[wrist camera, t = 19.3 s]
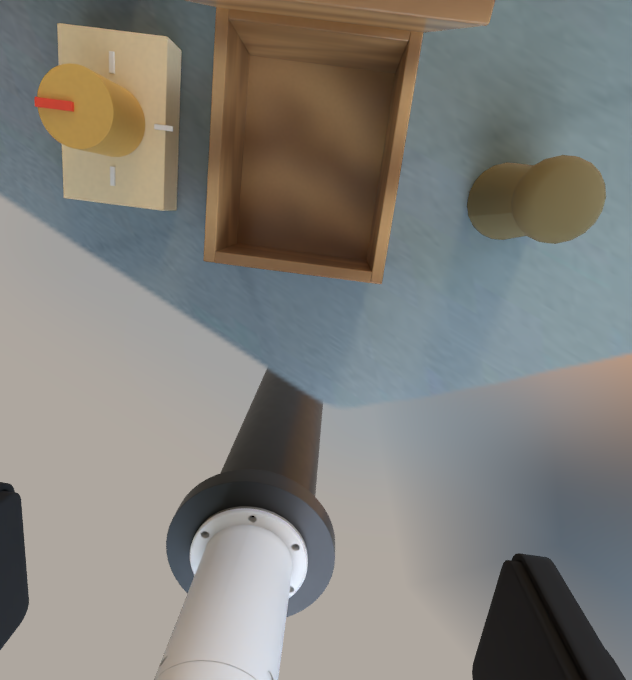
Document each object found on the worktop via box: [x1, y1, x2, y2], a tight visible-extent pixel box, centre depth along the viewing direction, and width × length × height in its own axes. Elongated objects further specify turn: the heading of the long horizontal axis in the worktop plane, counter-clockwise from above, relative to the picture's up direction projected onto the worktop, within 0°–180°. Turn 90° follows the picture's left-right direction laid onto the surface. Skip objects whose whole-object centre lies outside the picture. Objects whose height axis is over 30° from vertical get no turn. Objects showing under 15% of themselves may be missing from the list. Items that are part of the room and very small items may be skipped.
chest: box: [204, 7, 423, 284], centre depth 33 cm, size 16×13×8 cm
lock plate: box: [57, 23, 182, 211], centre depth 35 cm, size 12×9×3 cm
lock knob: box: [35, 63, 145, 157], centre depth 31 cm, size 5×5×5 cm
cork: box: [467, 155, 606, 244], centre depth 32 cm, size 6×6×11 cm
